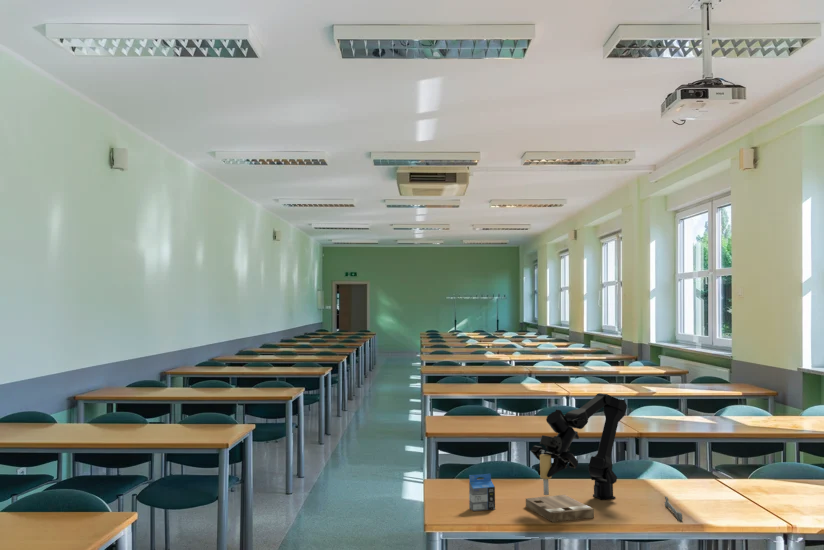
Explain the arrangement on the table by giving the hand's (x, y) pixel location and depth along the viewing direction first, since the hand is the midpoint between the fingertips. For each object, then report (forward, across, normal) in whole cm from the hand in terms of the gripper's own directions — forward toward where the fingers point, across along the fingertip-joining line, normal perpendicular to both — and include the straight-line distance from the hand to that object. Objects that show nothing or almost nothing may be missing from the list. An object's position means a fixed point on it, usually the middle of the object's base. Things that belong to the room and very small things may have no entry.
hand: (543, 475), depth 245 cm
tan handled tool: (+4, 0, +6) cm, 7 cm away
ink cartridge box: (+19, -18, 0) cm, 26 cm away
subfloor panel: (+6, +2, +13) cm, 15 cm away
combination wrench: (-16, +28, +36) cm, 48 cm away
